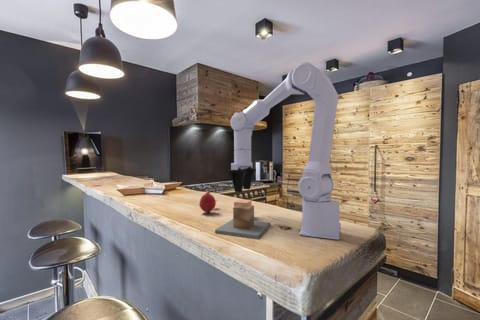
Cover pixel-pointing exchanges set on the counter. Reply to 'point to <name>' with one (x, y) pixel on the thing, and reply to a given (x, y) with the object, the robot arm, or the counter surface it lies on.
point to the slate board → (251, 233)
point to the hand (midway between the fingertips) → (242, 190)
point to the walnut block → (243, 216)
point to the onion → (207, 202)
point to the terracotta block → (242, 202)
